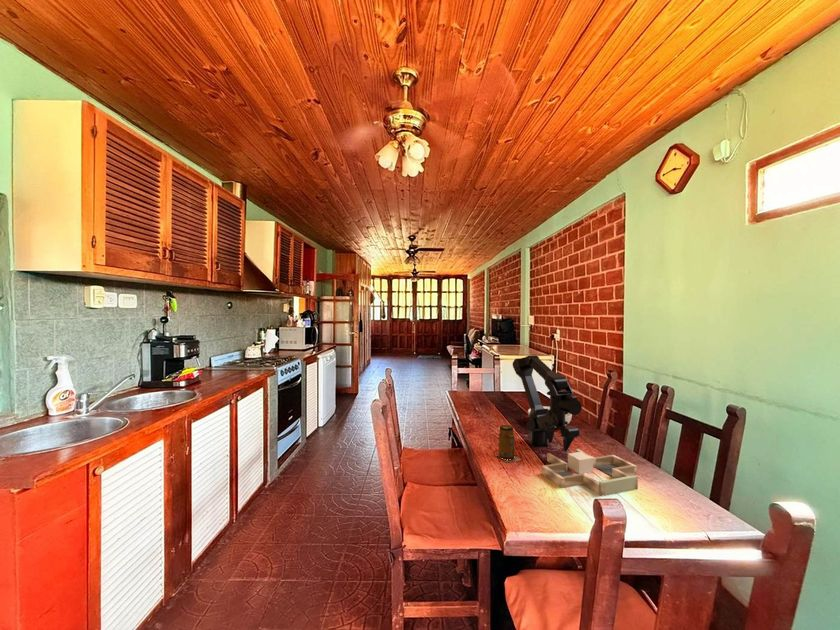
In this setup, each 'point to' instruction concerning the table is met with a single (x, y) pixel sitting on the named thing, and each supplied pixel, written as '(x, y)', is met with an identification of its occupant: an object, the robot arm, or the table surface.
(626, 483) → the box
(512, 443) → the condiment
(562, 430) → the robot arm
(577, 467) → the block
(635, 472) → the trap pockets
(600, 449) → the table surface
